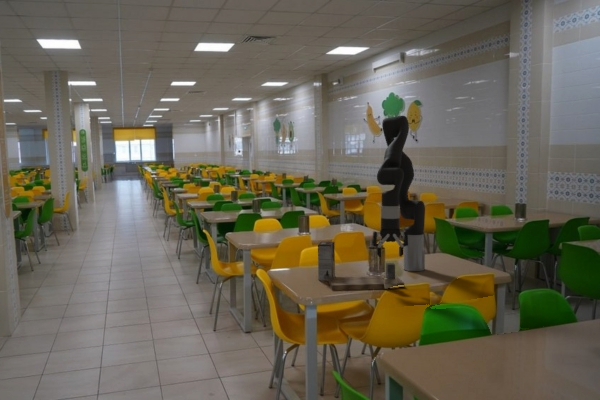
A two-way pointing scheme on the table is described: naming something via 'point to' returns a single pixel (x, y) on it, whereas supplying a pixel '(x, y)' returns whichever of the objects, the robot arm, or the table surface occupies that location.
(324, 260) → the coffee box
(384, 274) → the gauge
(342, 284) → the board
